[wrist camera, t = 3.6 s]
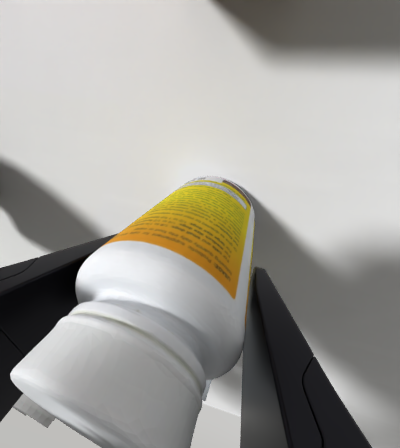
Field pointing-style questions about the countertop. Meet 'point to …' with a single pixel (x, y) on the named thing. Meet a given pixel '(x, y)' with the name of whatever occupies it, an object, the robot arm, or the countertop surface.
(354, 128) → the countertop surface
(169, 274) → the supplement bottle
